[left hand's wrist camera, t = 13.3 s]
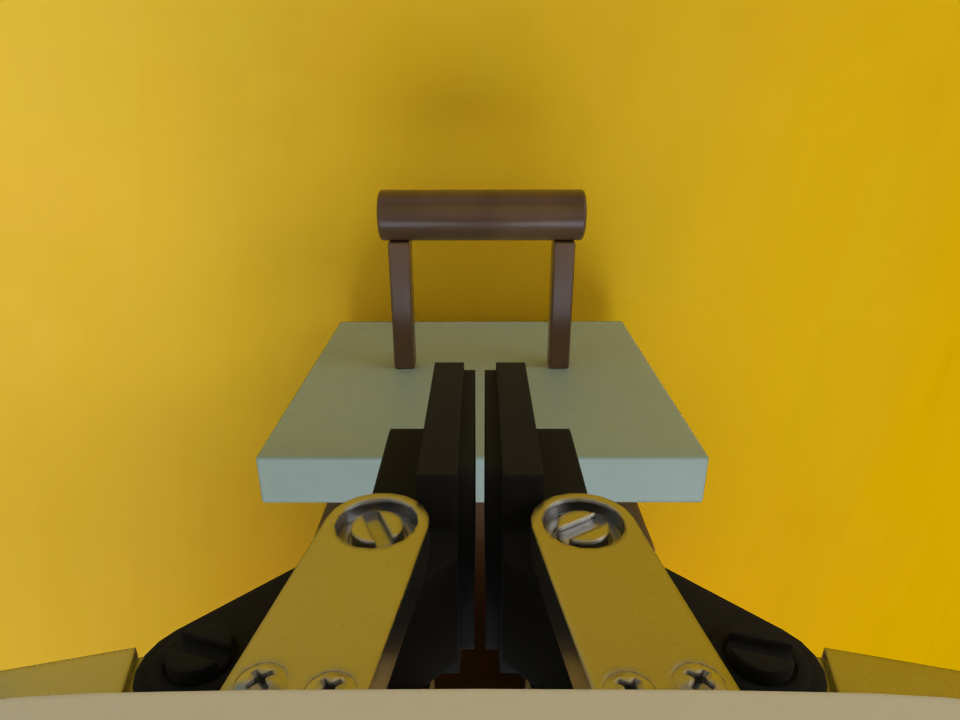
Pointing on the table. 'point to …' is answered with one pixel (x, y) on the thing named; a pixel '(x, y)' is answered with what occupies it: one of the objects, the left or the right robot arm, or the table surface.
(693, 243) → the table surface
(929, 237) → the table surface
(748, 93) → the table surface
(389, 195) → the drawer
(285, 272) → the table surface
